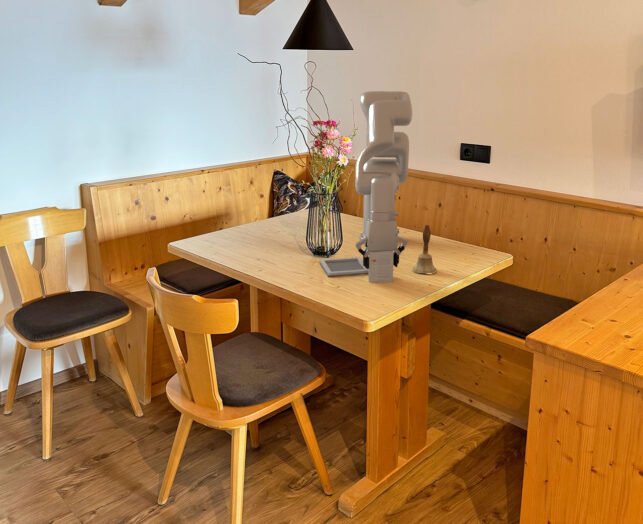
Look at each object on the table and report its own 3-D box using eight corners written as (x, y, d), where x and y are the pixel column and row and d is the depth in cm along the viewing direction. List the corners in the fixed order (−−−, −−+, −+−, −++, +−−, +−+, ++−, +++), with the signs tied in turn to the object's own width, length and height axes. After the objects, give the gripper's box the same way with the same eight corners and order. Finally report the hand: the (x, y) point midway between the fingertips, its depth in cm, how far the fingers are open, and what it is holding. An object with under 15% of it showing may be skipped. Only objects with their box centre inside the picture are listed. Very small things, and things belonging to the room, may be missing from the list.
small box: (392, 276, 213) (393, 246, 210) (392, 282, 208) (394, 251, 204) (368, 276, 214) (368, 246, 210) (368, 282, 208) (368, 251, 205)
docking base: (360, 260, 229) (360, 256, 229) (371, 273, 216) (371, 270, 216) (319, 263, 227) (319, 259, 226) (327, 276, 213) (327, 273, 213)
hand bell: (417, 265, 224) (419, 221, 219) (440, 269, 220) (443, 224, 215) (408, 272, 217) (410, 226, 212) (431, 276, 213) (433, 230, 208)
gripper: (404, 211, 209) (402, 261, 214) (352, 214, 206) (352, 265, 211) (412, 217, 202) (410, 268, 207) (358, 219, 199) (358, 272, 204)
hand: (380, 266), depth 209 cm, fingers open, 9 cm apart
